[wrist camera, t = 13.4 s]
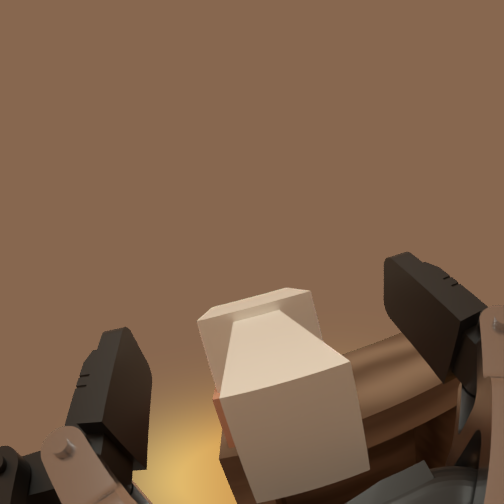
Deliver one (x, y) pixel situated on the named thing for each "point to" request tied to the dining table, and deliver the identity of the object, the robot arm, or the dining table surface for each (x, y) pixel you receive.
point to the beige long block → (284, 394)
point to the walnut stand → (380, 422)
